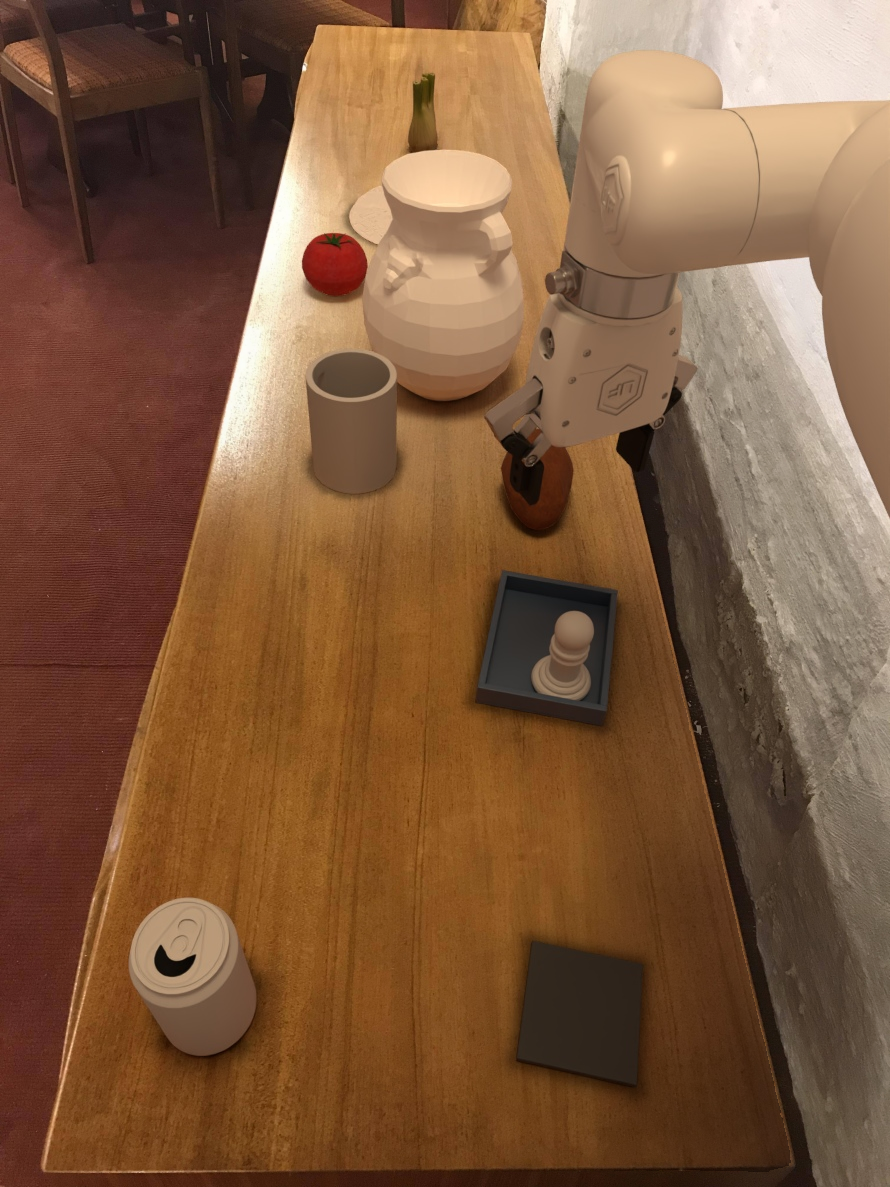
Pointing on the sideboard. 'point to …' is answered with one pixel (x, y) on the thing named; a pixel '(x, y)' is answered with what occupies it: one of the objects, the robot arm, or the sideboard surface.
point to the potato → (542, 488)
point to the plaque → (371, 215)
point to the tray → (544, 645)
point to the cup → (353, 419)
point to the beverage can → (193, 975)
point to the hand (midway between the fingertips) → (577, 476)
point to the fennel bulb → (423, 116)
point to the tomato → (334, 264)
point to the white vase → (445, 275)
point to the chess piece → (566, 659)
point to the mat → (581, 1013)
